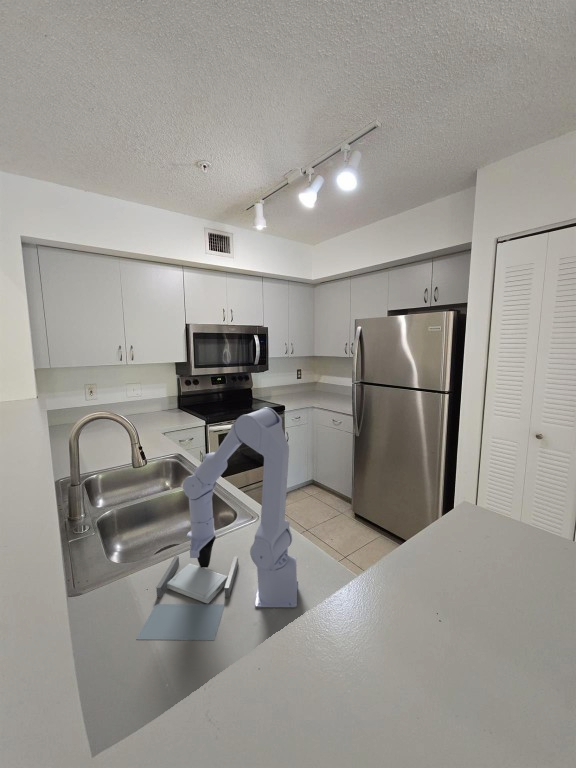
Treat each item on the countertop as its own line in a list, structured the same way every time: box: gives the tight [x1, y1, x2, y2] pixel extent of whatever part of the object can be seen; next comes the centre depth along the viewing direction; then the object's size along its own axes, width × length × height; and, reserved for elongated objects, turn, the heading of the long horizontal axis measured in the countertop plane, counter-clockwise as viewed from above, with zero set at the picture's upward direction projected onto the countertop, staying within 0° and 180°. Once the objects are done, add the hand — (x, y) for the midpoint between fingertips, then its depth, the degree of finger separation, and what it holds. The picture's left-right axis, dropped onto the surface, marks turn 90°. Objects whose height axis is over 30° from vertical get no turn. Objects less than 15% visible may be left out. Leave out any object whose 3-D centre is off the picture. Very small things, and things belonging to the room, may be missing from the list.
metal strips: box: [155, 555, 239, 599], centre depth 82 cm, size 17×12×2 cm
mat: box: [136, 603, 225, 641], centre depth 70 cm, size 16×9×1 cm, turn 88°
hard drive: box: [166, 563, 228, 604], centre depth 80 cm, size 2×8×12 cm
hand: (204, 565), depth 86 cm, fingers closed
